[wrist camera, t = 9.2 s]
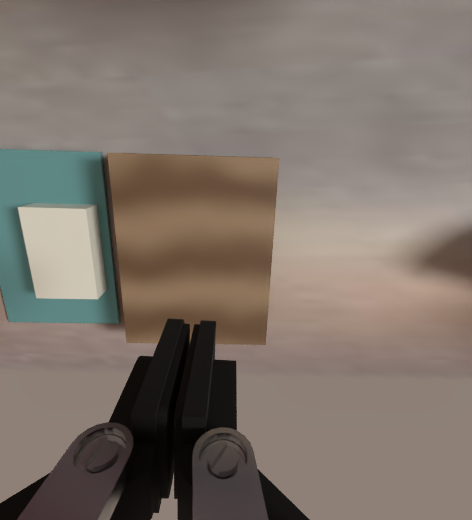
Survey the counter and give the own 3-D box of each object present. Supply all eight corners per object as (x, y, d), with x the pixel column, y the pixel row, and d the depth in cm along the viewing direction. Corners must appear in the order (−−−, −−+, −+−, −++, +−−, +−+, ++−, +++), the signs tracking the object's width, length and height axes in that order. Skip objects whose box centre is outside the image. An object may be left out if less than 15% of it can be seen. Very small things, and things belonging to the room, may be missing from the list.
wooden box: (123, 153, 28) (107, 152, 25) (272, 157, 29) (279, 158, 25) (138, 322, 34) (126, 342, 30) (261, 324, 35) (265, 344, 31)
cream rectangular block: (85, 208, 27) (96, 204, 29) (17, 207, 27) (34, 203, 29) (97, 299, 30) (106, 289, 32) (36, 298, 30) (49, 288, 32)
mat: (-30, 148, 28) (-34, 148, 28) (101, 152, 28) (100, 152, 28) (11, 319, 34) (8, 321, 33) (120, 321, 34) (118, 323, 34)
